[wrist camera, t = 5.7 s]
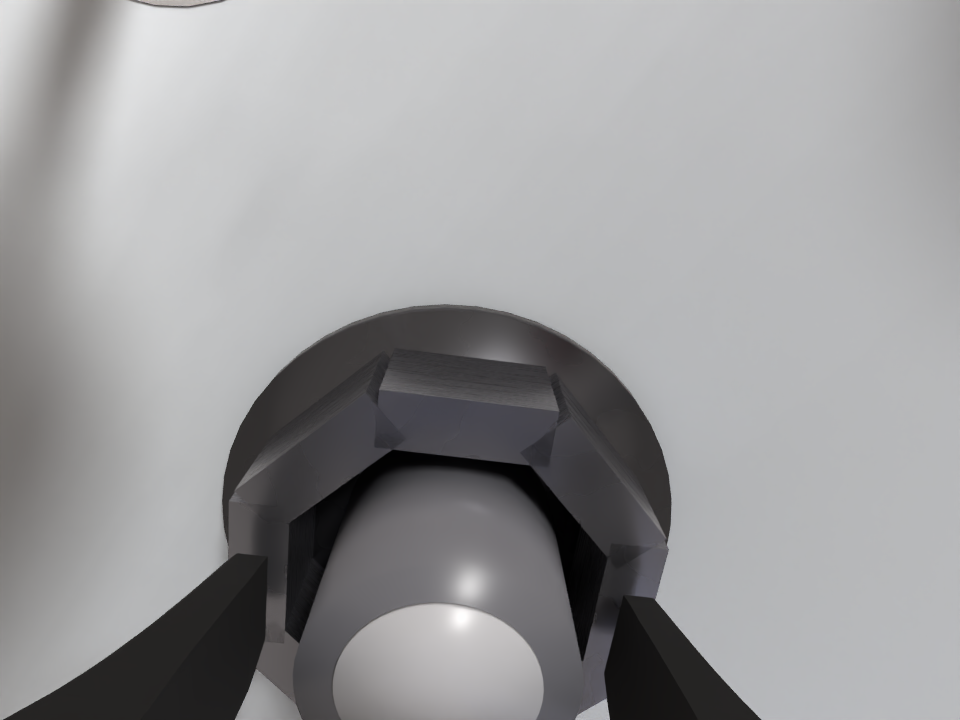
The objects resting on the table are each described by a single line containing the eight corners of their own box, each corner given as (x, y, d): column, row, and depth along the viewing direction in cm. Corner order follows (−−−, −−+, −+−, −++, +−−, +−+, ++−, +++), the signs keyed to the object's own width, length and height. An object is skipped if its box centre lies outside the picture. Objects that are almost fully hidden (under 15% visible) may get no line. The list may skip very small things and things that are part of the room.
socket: (617, 701, 18) (643, 804, 15) (229, 663, 18) (182, 762, 15) (713, 336, 15) (770, 384, 12) (231, 274, 14) (169, 309, 11)
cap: (534, 614, 17) (558, 808, 12) (341, 596, 16) (287, 786, 12) (567, 443, 15) (609, 586, 10) (354, 419, 15) (295, 554, 10)
